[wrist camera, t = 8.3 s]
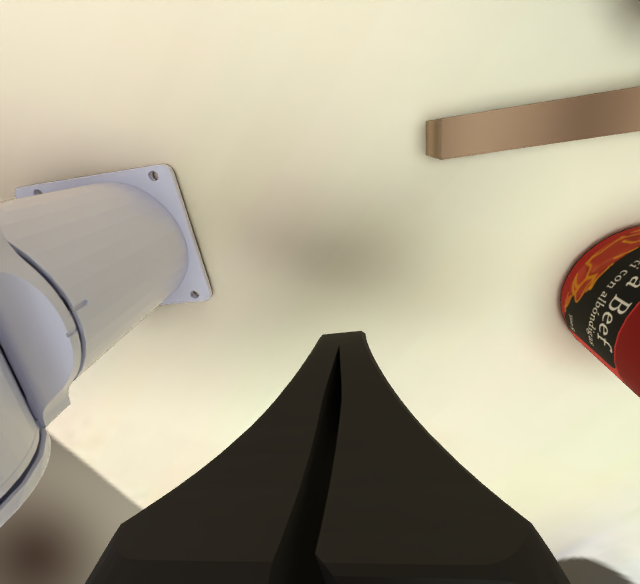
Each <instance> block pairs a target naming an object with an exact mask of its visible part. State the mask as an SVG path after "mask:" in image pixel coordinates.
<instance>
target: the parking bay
mask: <svg viewBox="0 0 640 584" xmlns="http://www.w3.org/2000/svg"><path fill="white" fill-rule="evenodd" d="M635 131H640V86H639V87H633V88H627V89H621V90H615V91H609V92H602V93H596V94H590V95H584V96H578V97H572V98H565V99H559V100H553V101H547V102H541V103H535V104H529V105H522V106H516V107H510V108H504V109H498V110H492V111H485V112H479V113H473V114H467V115H461V116H455V117H448V118H442V119H436V120H430V121H426V155H428V156H431V157H434V158H438V159H441V160H442V159H449V158H456V157H463V156H470V155H477V154H483V153H490V152H497V151H504V150H511V149H518V148H525V147H532V146H539V145H546V144H552V143H559V142H566V141H573V140H580V139H587V138H594V137H601V136H608V135H614V134H621V133H628V132H635Z"/></svg>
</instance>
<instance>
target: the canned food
mask: <svg viewBox="0 0 640 584" xmlns="http://www.w3.org/2000/svg"><path fill="white" fill-rule="evenodd" d="M561 310H562V313H563V316H564V319H565V321H566V323H567V326H568V328H569V330H570V331H571V333H572V334H573V335H574V337H575V338H576V339H577V340H578V341H579V342H580V343H581V344H582V345H584V346H585V347H586V348H587V349H588V350H589V351H590V352H591V353H592V354H593V355H594V356H595V357H596V358H598V359H599V360H600V361H601V362H602V363H603V364H604V365H605V366H606V367H607V368H608V369H609V370H610V371H612V372H613V373H614V374H615V375H616V376H617V377H618V378H619V379H620V380H621V381H622V382H623V383H624V384H626V385H627V386H628V387H629V388H630V389H631V390H632V391H633V392H634V393H635V394H636V395H637V396H638V397H640V226H639V227H635V228H630V229H627V230H624V231H622V232H619V233H617V234H614V235H612V236H610V237H608V238H607V239H605V240H603V241H601V242H600V243H598V244H597V245H595V246H594V247H593V248H592V249H590V250H589V251H588V252H587V253H585V254H584V255H583V257H582V258H581V259H580V260H579V261H578V262H577V263H576V264H575V265H574V267H573V269H572V270H571V272H570V273H569V275H568V276H567V279H566V281H565V284H564V286H563V289H562V295H561Z"/></svg>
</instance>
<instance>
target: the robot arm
mask: <svg viewBox="0 0 640 584" xmlns="http://www.w3.org/2000/svg"><path fill="white" fill-rule="evenodd" d="M153 171H155V172H156V173H157V175H158V180H156V179H154V177H153V174H152V173H153ZM40 191H41V192H42V194H40ZM15 196H16V199H14V200H9V201H4V202H0V527H1V526H2V525H3V524H4V523H5V522H6V521H7V520H8V519H9V518H10V517H11V516H12V515H13V514H14V513H15V512H16V511H17V510H18V509H19V507H20V506H21V505H22V504H23V503H24V501H25V500H26V499H27V498H28V497H29V495H30V494H31V493H32V491H33V490H34V488H35V487H36V485H37V484H38V482H39V481H40V479H41V477H42V475H43V473H44V471H45V469H46V467H47V464H48V461H49V457H50V453H51V444H50V443H51V441H50V437H49V434H48V432H47V430H46V429H45V427H46V426H48V425H49V424H50V423H51V422H52V421H53V420H54V419H55V418H56V417H57V416H58V415H59V414H60V413H61V412H62V411H63V410H64V409H65V408H66V407H67V406H68V405H69V404H70V400H69V396H68V390H69V386H70V384H71V383H72V382H73V381H74V380H75V379H76V378H77V377H79V376H80V375H81V374H82V373H83V372H84V371H85V370H86V369H87V368H89V367H90V366H91V365H92V364H93V363H94V362H95V361H96V360H98V359H99V358H100V357H101V356H102V355H103V354H104V353H105V352H107V351H108V350H109V349H110V348H111V347H112V346H113V345H114V344H116V343H117V342H118V341H119V340H120V339H121V338H122V337H123V336H124V335H126V334H127V333H128V332H129V331H130V330H131V329H132V328H133V327H135V326H136V325H137V324H138V323H139V322H140V321H141V320H142V319H144V318H145V317H146V316H147V315H148V314H149V313H150V312H151V311H153V310H154V309H155V308H156V307H157V306H158V305H167V304H177V303H188V302H198V301H206V300H208V299H209V298H210V297H211V296H212V290H211V287H210V283H209V280H208V277H207V274H206V271H205V268H204V265H203V261H202V258H201V255H200V252H199V249H198V246H197V243H196V240H195V236H194V233H193V230H192V227H191V224H190V221H189V218H188V215H187V211H186V208H185V205H184V202H183V199H182V196H181V193H180V190H179V186H178V183H177V180H176V177H175V174H174V171H173V170H172V168H171V167H170V166H168V165H166V164H159V165H153V166H146V167H140V168H134V169H128V170H122V171H116V172H110V173H103V174H97V175H91V176H85V177H79V178H73V179H66V180H60V181H54V182H48V183H42V184H36V185H29V186H23V187H18V188H16V190H15ZM193 291H196V292H197V293H198V294H199V296H196V295H195V294H194V293H193ZM85 584H570V582H569V580H568V579H567V577H566V575H565V573H564V572H563V570H562V569H561V567H560V566H559V564H558V562H557V560H556V559H555V557H554V556H553V554H552V552H551V551H550V549H549V548H548V547H547V545H546V544H545V542H544V541H543V539H542V538H541V536H540V535H539V533H538V532H537V530H536V529H535V528H534V526H533V525H532V523H530V522H529V521H528V520H527V519H525V518H524V517H523V516H521V515H520V514H519V513H518V512H516V511H515V510H514V509H513V508H511V507H510V506H509V505H508V504H506V503H505V502H504V501H503V500H501V499H500V498H499V497H498V496H497V495H495V494H494V493H493V492H492V491H491V490H489V489H488V488H487V487H486V486H485V485H483V484H482V483H481V482H480V481H479V480H478V479H477V478H475V477H474V476H473V475H472V474H471V473H470V472H469V471H468V470H466V469H465V468H464V467H463V466H462V465H461V464H460V463H459V462H458V461H457V460H456V459H455V458H454V457H453V456H452V455H450V454H449V453H448V452H447V451H446V450H445V449H444V448H443V447H442V446H441V445H440V444H439V443H438V442H437V441H436V440H435V439H434V438H433V437H432V436H431V435H430V434H429V433H428V432H427V430H426V429H425V428H424V427H423V426H422V425H421V424H420V423H419V421H418V420H417V419H416V418H415V417H414V416H413V414H412V413H411V412H410V411H409V410H408V408H407V407H406V406H405V405H404V403H403V402H402V401H401V400H400V398H399V397H398V395H397V394H396V393H395V391H394V390H393V388H392V387H391V386H390V384H389V383H388V381H387V380H386V378H385V376H384V375H383V373H382V371H381V370H380V368H379V366H378V364H377V363H376V361H375V359H374V357H373V355H372V353H371V351H370V349H369V346H368V343H367V340H366V334H365V333H364V332H362V331H356V332H346V333H335V334H325V335H322V336H321V337H320V339H319V340H318V342H317V344H316V345H315V347H314V348H313V350H312V351H311V353H310V355H309V356H308V358H307V359H306V361H305V362H304V364H303V365H302V366H301V368H300V369H299V371H298V372H297V373H296V375H295V376H294V378H293V379H292V380H291V382H290V383H289V384H288V385H287V387H286V388H285V389H284V390H283V392H282V393H281V394H280V395H279V396H278V398H277V399H276V400H275V401H274V402H273V404H272V405H271V406H270V407H269V408H268V409H267V410H266V411H265V412H264V414H263V415H262V416H261V417H260V418H259V419H258V420H257V421H256V422H255V423H254V424H253V425H252V426H251V427H250V428H249V429H248V430H247V431H245V432H244V433H243V434H242V435H241V436H240V437H239V438H238V439H236V440H235V441H234V442H233V443H232V444H231V445H230V446H229V447H227V448H226V449H225V450H224V451H223V452H222V453H221V454H219V455H218V456H217V457H216V458H214V459H213V460H212V461H211V462H209V463H208V464H207V465H206V466H204V467H203V468H202V469H201V470H199V471H198V472H197V473H195V474H194V475H193V476H191V477H190V478H189V479H187V480H186V481H185V482H183V483H182V484H180V485H179V486H178V487H176V488H175V489H173V490H172V491H171V492H169V493H168V494H166V495H165V496H163V497H162V498H160V499H159V500H157V501H156V502H154V503H153V504H151V505H150V506H148V507H147V508H145V509H144V510H142V511H141V512H139V513H138V514H136V515H135V516H133V517H132V518H130V519H129V520H127V521H125V522H124V523H122V524H121V525H120V527H119V528H118V530H117V531H116V533H115V534H114V536H113V538H112V539H111V541H110V543H109V544H108V546H107V548H106V549H105V551H104V552H103V554H102V556H101V557H100V559H99V561H98V563H97V564H96V566H95V568H94V569H93V571H92V573H91V574H90V576H89V578H88V579H87V581H86V583H85Z"/></svg>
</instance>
